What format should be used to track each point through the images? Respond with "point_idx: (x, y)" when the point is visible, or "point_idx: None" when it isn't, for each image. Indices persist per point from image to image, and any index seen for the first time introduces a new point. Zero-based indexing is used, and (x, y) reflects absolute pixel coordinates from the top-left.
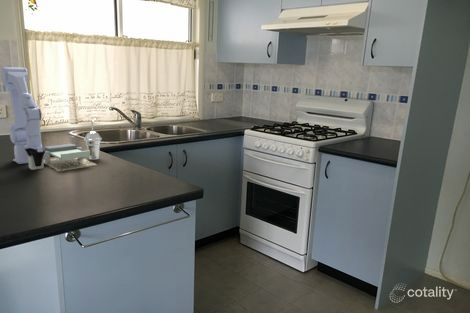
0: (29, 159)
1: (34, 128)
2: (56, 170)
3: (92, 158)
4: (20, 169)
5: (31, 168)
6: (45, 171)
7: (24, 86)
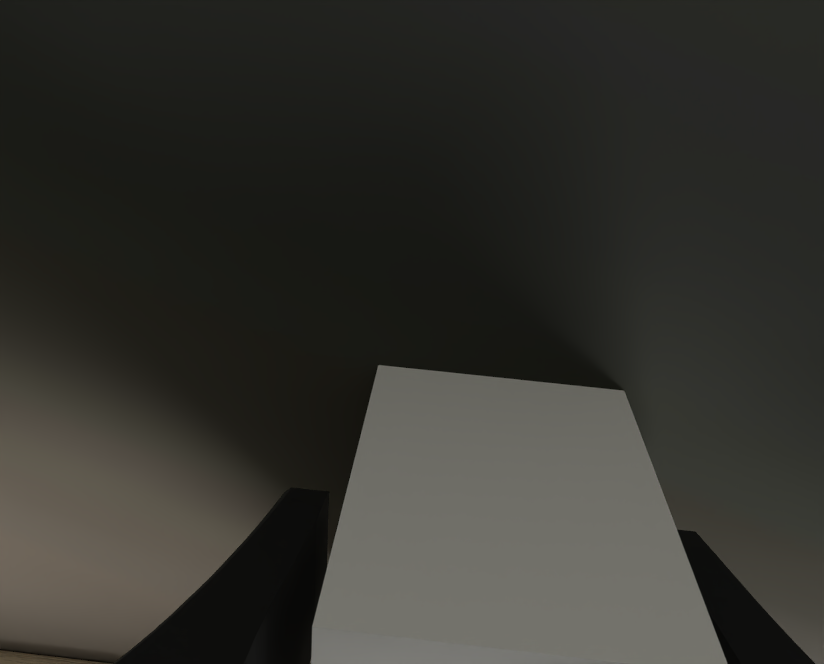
0: (530, 568)
1: None
2: (3, 651)
3: None
4: (645, 166)
5: (406, 384)
6: (42, 499)
7: None
